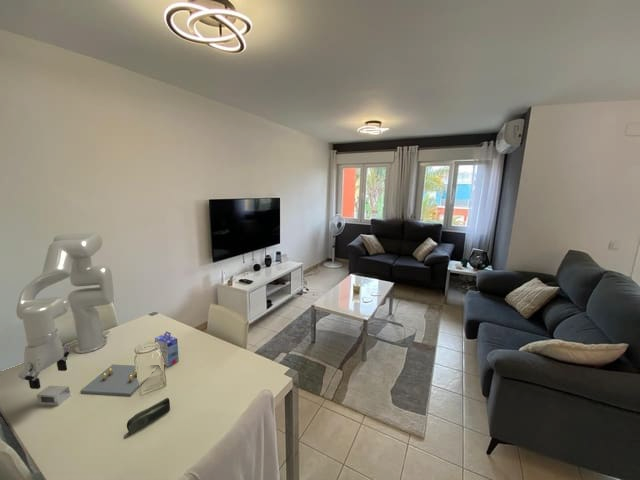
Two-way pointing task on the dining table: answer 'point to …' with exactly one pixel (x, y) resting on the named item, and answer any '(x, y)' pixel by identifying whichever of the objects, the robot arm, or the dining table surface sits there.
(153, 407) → the mobile phone
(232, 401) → the dining table surface
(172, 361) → the ink cartridge box
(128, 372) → the pin tray
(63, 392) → the block
